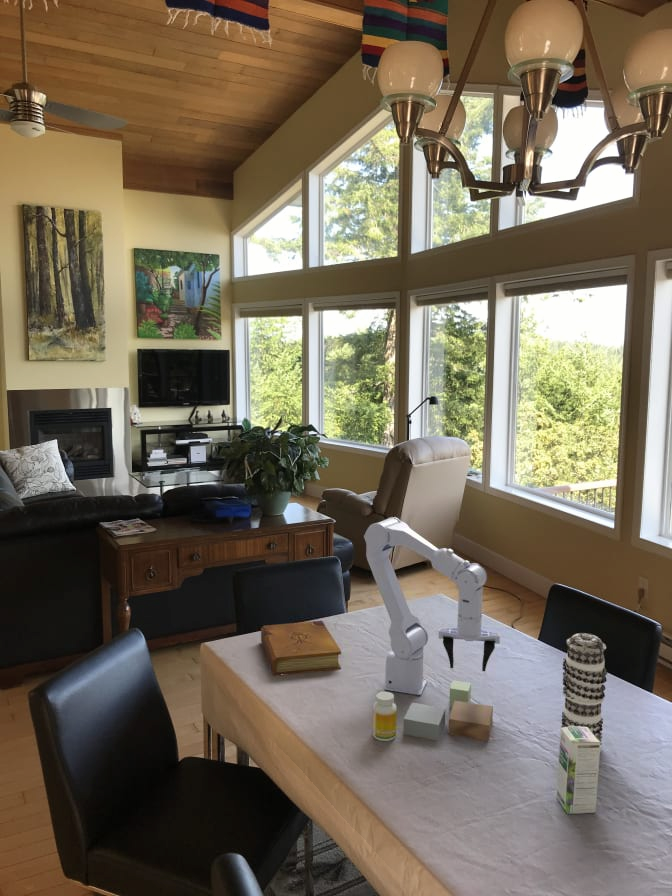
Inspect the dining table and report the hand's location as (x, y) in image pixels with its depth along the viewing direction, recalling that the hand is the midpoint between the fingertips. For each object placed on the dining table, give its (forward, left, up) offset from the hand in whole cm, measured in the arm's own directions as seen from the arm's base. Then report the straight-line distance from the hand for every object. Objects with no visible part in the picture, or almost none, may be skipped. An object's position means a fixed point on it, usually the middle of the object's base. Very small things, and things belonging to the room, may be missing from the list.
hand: (467, 668), depth 172 cm
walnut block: (+3, -11, -10) cm, 15 cm away
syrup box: (+25, -33, -10) cm, 42 cm away
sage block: (-2, -1, -10) cm, 10 cm away
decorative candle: (+26, -11, -10) cm, 30 cm away
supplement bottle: (-16, -21, -10) cm, 28 cm away
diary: (-50, +13, -10) cm, 52 cm away
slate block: (-8, -15, -10) cm, 19 cm away
